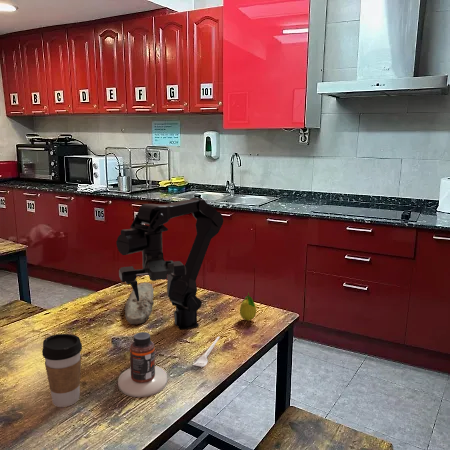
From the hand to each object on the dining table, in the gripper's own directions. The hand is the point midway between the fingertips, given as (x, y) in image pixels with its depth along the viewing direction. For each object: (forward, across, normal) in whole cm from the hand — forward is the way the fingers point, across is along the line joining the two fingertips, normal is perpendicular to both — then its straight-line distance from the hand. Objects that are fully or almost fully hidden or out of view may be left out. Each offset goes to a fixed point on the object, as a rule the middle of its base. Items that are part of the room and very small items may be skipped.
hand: (153, 298), depth 123 cm
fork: (+14, +12, -13) cm, 23 cm away
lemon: (+13, +32, +1) cm, 35 cm away
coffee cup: (+13, -26, -21) cm, 36 cm away
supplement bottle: (+12, -8, -21) cm, 25 cm away
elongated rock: (+14, +2, +28) cm, 31 cm away
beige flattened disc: (+13, -8, -21) cm, 26 cm away
